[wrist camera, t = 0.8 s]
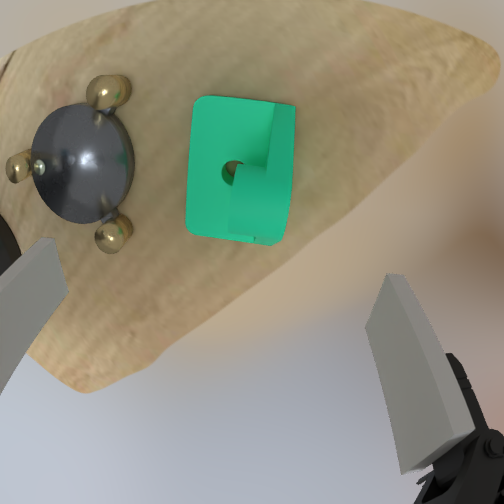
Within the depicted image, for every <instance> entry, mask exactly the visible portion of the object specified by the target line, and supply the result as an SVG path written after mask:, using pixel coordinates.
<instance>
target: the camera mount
mask: <svg viewBox="0 0 504 504" xmlns="http://www.w3.org/2000/svg"><path fill="white" fill-rule="evenodd" d="M295 109H296V107H295V106H292V105H286V104H280V103H274V102H267V101H260V100H252V99H244V98H235V97H225V96H214V95H209V96H203V97H200V98H199V99H198V100H197V101H196V102H195V103H194V106H193V114H192V124H191V136H190V148H189V162H188V178H187V196H186V220H185V224H186V227H187V229H188V231H189V232H191V233H192V234H194V235H200V236H207V237H213V238H220V239H227V240H234V241H241V242H248V243H255V244H262V245H268V246H272V245H273V244H275V243H277V242H279V241H281V240H282V238H283V235H284V232H285V228H286V223H287V218H288V213H289V207H290V200H291V191H292V176H293V157H294V135H295ZM232 160H237V161H241V162H242V163H244V164H245V165H244V164H238V165H237V168H236V171H235V176H234V177H233V176H231V175H230V174H229V173H228V172H227V170H226V163H227V162H229V161H232Z"/></svg>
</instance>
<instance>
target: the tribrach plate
mask: <svg viewBox="0 0 504 504" xmlns="http://www.w3.org/2000/svg"><path fill="white" fill-rule="evenodd" d="M131 90H132V88H131V83H130V81H129V80H128V79H127V78H126V77H124V76H121V75H101V76H97V77H96V78H94V79H93V80H92V81H91V82H90V83H89V85H88V87H87V91H86V99H87V102H88V103H80V104H74V105H70V106H65V107H62V108H59V109H57V110H55V111H54V112H52V113H51V114H50V115H49V116H47V117H46V119H45V120H44V121H43V122H42V123H41V125H40V126H39V128H38V130H37V132H36V134H35V137H34V140H33V144H32V149H28V150H26V151H24V152H21V153H19V154H17V155H14V156H12V157H10V158H9V159H8V160H7V162H6V174H7V177H8V178H9V180H10V181H11V182H12V183H15V184H16V183H19V182H20V181H22V180H24V179H26V178H28V177H29V176H31V175H32V176H33V180H34V183H35V186H36V188H37V190H38V192H39V194H40V196H41V198H42V199H43V201H44V202H45V203H46V205H47V206H48V207H49V208H50V209H51V210H52V211H53V212H54V213H56V214H57V215H58V216H60V217H61V218H63V219H65V220H67V221H70V222H74V223H79V224H87V223H93V222H96V221H98V220H101V221H102V223H103V224H102V225H101V226H100V227H99V228H98V229H97V230H96V232H95V242H96V244H97V246H98V247H99V249H100V250H102V251H103V252H105V253H107V254H115V253H117V252H118V251H119V250H120V249H121V247H122V246H123V245H124V244H125V242H126V241H127V240H128V239H129V238H130V236H131V235H132V232H133V226H132V223H131V222H130V220H129V219H128V218H127V217H126V216H124V215H122V214H119V212H118V210H117V209H116V207H117V206H118V205H119V204H120V203H121V202H122V200H123V199H124V198H125V196H126V195H127V193H128V191H129V189H130V186H131V183H132V180H133V175H134V164H135V162H134V152H133V147H132V143H131V140H130V137H129V135H128V133H127V131H126V129H125V127H124V126H123V124H122V123H121V122H120V120H119V119H118V118H117V117H116V116H115V115H114V114H113V113H114V111H115V109H116V107H117V106H121V105H123V104H124V103H126V102H127V100H128V99H129V97H130V95H131Z"/></svg>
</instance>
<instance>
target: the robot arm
mask: <svg viewBox="0 0 504 504" xmlns="http://www.w3.org/2000/svg"><path fill="white" fill-rule="evenodd" d="M68 292H69V290H68V287H67V284H66V281H65V277H64V274H63V270H62V267H61V263H60V259H59V256H58V252H57V248H56V244H55V239H53V238H45V237H41V238H40V239H39V240H38V241H37V242H36V243H35V244H34V245H32V246H31V247H30V248H29V249H28V250H27V251H26V252H25V253H24V254H23V255H22V256H21V254H20V251H19V248H18V245H17V243H16V241H15V239H14V236H13V234H12V233H11V231H10V229H9V227H8V226H7V224H6V223H5V221H4V220H3V219H2V217H1V216H0V394H1V393H2V391H3V389H4V387H5V386H6V384H7V382H8V381H9V379H10V377H11V375H12V374H13V372H14V370H15V369H16V367H17V366H18V364H19V362H20V361H21V359H22V358H23V356H24V354H25V353H26V351H27V350H28V348H29V347H30V345H31V344H32V342H33V341H34V339H35V338H36V336H37V335H38V333H39V332H40V331H41V329H42V328H43V326H44V325H45V323H46V322H47V321H48V319H49V318H50V316H51V315H52V314H53V312H54V311H55V310H56V308H57V307H58V305H59V304H60V303H61V301H62V300H63V299H64V297H65V296H66V295H67V294H68ZM365 329H366V332H367V336H368V339H369V342H370V346H371V349H372V353H373V356H374V360H375V363H376V367H377V370H378V374H379V378H380V382H381V385H382V389H383V393H384V397H385V401H386V405H387V409H388V413H389V418H390V422H391V427H392V431H393V435H394V440H395V445H396V450H397V455H398V460H399V466H400V471H401V475H405V474H409V473H414V472H418V471H422V470H423V469H425V468H426V467H428V466H429V465H430V464H433V469H434V470H433V471H431V472H430V473H428V474H427V475H425V476H424V477H422V478H420V479H419V481H418V482H417V483H416V484H418V485H419V484H421V483H422V482H424V481H426V482H425V484H424V485H423V486H422V487H423V488H422V489H421V491H420V493H419V495H418V497H417V498H416V500H415V502H414V504H504V436H503V435H502V434H501V433H500V432H499V431H498V430H494V429H489V428H488V426H487V424H486V421H485V418H484V416H483V413H482V411H481V408H480V406H479V403H478V401H477V399H476V396H475V393H474V392H473V390H472V389H471V387H472V386H471V384H470V382H469V380H468V379H467V375H466V373H465V371H464V368H463V366H462V364H461V363H460V362H459V361H458V360H457V358H456V357H454V355H453V354H452V353H446V354H445V353H444V350H443V349H442V346H441V344H440V342H439V340H438V338H437V336H436V334H435V332H434V330H433V328H432V326H431V324H430V322H429V320H428V318H427V316H426V314H425V312H424V310H423V309H422V307H421V305H420V303H419V301H418V299H417V298H416V296H415V294H414V292H413V290H412V288H411V287H410V285H409V283H408V281H407V280H406V278H405V276H404V275H399V274H388V273H387V274H386V276H385V279H384V282H383V284H382V287H381V289H380V292H379V295H378V297H377V300H376V302H375V304H374V307H373V309H372V312H371V314H370V317H369V319H368V321H367V323H366V326H365Z"/></svg>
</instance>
